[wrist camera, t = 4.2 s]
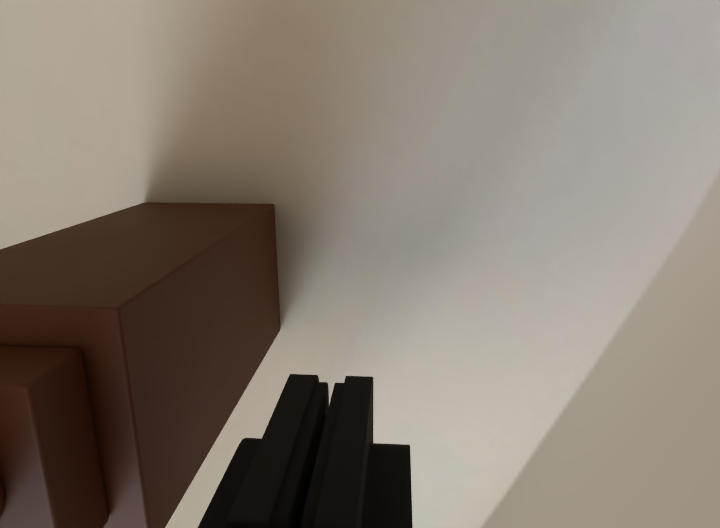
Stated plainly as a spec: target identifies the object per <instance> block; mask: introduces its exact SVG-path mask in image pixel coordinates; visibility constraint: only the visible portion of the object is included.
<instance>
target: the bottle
mask: <svg viewBox="0 0 720 528" xmlns="http://www.w3.org/2000/svg"><path fill="white" fill-rule="evenodd" d="M279 331H280V315H279V295H278V274H277V254H276V233H275V213H274V205H273V204H209V203H142V204H139V205H136V206H133V207H130V208H126V209H123V210H120V211H117V212H114V213H111V214H108V215H105V216H102V217H99V218H96V219H93V220H90V221H87V222H84V223H81V224H77V225H74V226H71V227H68V228H65V229H62V230H59V231H56V232H53V233H50V234H47V235H44V236H41V237H38V238H35V239H32V240H28V241H25V242H22V243H19V244H16V245H13V246H10V247H7V248H4V249H1V250H0V528H165V527H166V525H167V523H168V521H169V520H170V518H171V516H172V515H173V513H174V511H175V509H176V508H177V506H178V504H179V503H180V501H181V499H182V497H183V496H184V494H185V492H186V491H187V489H188V487H189V485H190V484H191V482H192V480H193V479H194V477H195V475H196V473H197V472H198V470H199V468H200V467H201V465H202V463H203V461H204V460H205V458H206V456H207V455H208V453H209V451H210V449H211V448H212V446H213V444H214V442H215V441H216V439H217V437H218V436H219V434H220V432H221V430H222V429H223V427H224V425H225V424H226V422H227V420H228V418H229V417H230V415H231V413H232V412H233V410H234V408H235V406H236V405H237V403H238V401H239V400H240V398H241V396H242V394H243V393H244V391H245V389H246V388H247V386H248V384H249V382H250V381H251V379H252V377H253V376H254V374H255V372H256V370H257V369H258V367H259V365H260V364H261V362H262V360H263V358H264V357H265V355H266V353H267V351H268V350H269V348H270V346H271V345H272V343H273V341H274V339H275V338H276V336H277V334H278V333H279Z"/></svg>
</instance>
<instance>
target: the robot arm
mask: <svg viewBox="0 0 720 528" xmlns="http://www.w3.org/2000/svg"><path fill="white" fill-rule="evenodd" d="M198 528H412V500H411V465H410V445H399V444H375V443H373V377H361V376H346V378H345V382H344V383H335V385H334V389H333V393H332V397H331V401H330V405H329V395H328V383H325V382H319V379H318V375H298V374H290V376H289V378H288V380H287V382H286V384H285V387H284V389H283V391H282V394H281V396H280V398H279V401H278V403H277V405H276V407H275V410H274V412H273V414H272V417H271V419H270V421H269V424H268V426H267V428H266V431H265V433H264V435H263V437H262V439H256V438H245V439H243V440H242V441H241V443H240V444H239V446H238V448H237V450H236V452H235V454H234V456H233V458H232V460H231V462H230V464H229V466H228V468H227V470H226V472H225V474H224V476H223V478H222V480H221V482H220V484H219V486H218V488H217V490H216V492H215V494H214V496H213V498H212V500H211V502H210V504H209V506H208V508H207V510H206V512H205V514H204V516H203V518H202V520H201V522H200V524H199V526H198Z"/></svg>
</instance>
